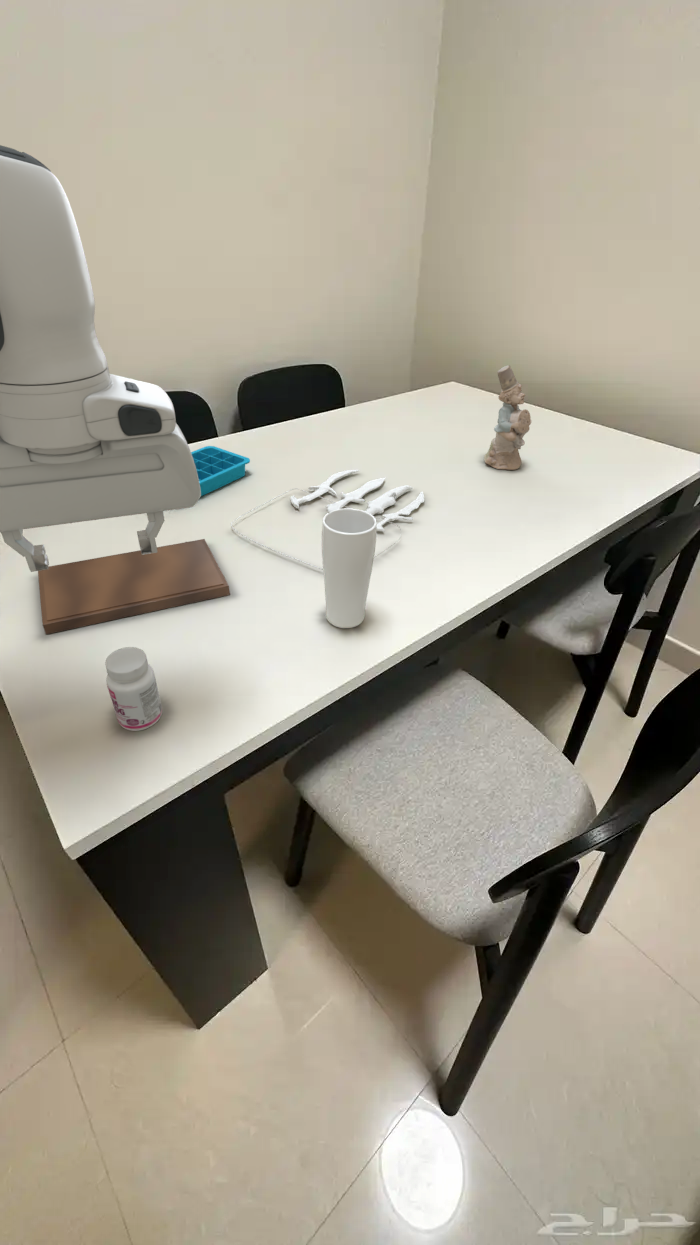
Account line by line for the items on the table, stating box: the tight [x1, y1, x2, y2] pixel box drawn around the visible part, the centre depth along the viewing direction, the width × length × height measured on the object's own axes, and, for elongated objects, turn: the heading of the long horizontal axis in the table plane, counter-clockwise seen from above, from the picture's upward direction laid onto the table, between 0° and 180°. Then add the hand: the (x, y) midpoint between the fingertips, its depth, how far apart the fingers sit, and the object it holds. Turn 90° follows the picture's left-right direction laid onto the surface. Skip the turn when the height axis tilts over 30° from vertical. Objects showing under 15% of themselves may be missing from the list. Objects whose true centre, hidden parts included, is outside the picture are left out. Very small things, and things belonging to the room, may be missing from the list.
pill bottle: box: [104, 646, 163, 732], centre depth 61 cm, size 5×5×8 cm
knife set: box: [230, 469, 425, 571], centre depth 102 cm, size 26×35×1 cm
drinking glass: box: [320, 507, 378, 629], centre depth 75 cm, size 7×7×15 cm
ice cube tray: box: [191, 445, 251, 497], centre depth 110 cm, size 12×20×3 cm, turn 146°
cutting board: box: [37, 538, 231, 635], centre depth 83 cm, size 24×14×2 cm, turn 115°
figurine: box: [483, 364, 533, 471], centre depth 119 cm, size 9×8×20 cm
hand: (96, 559), depth 54 cm, fingers open, 8 cm apart
